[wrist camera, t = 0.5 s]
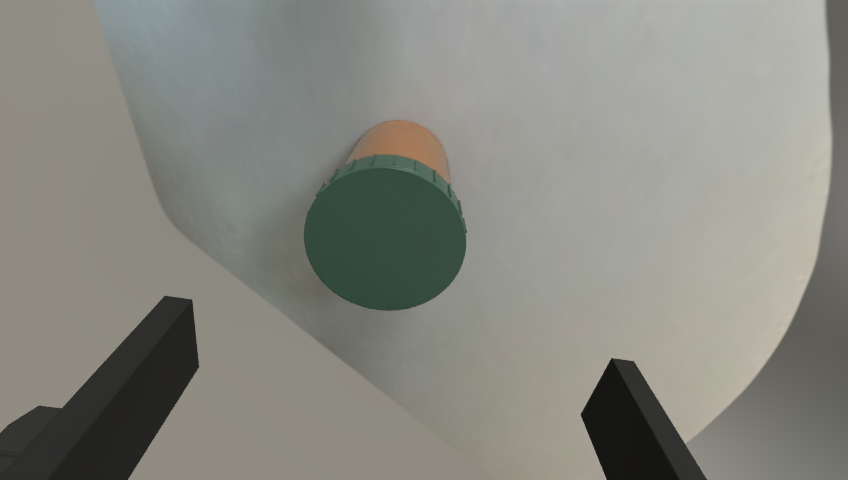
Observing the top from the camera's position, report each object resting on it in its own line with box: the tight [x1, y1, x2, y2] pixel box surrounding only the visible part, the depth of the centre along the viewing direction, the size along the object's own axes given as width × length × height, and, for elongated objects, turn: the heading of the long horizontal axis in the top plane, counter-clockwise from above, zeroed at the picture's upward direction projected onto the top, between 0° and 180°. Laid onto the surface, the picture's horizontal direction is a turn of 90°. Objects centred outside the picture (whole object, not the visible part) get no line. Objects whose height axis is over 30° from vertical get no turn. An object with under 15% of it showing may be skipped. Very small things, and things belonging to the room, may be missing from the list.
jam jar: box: [343, 120, 452, 188], centre depth 27 cm, size 8×8×12 cm
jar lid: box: [304, 154, 467, 311], centre depth 22 cm, size 8×8×2 cm
